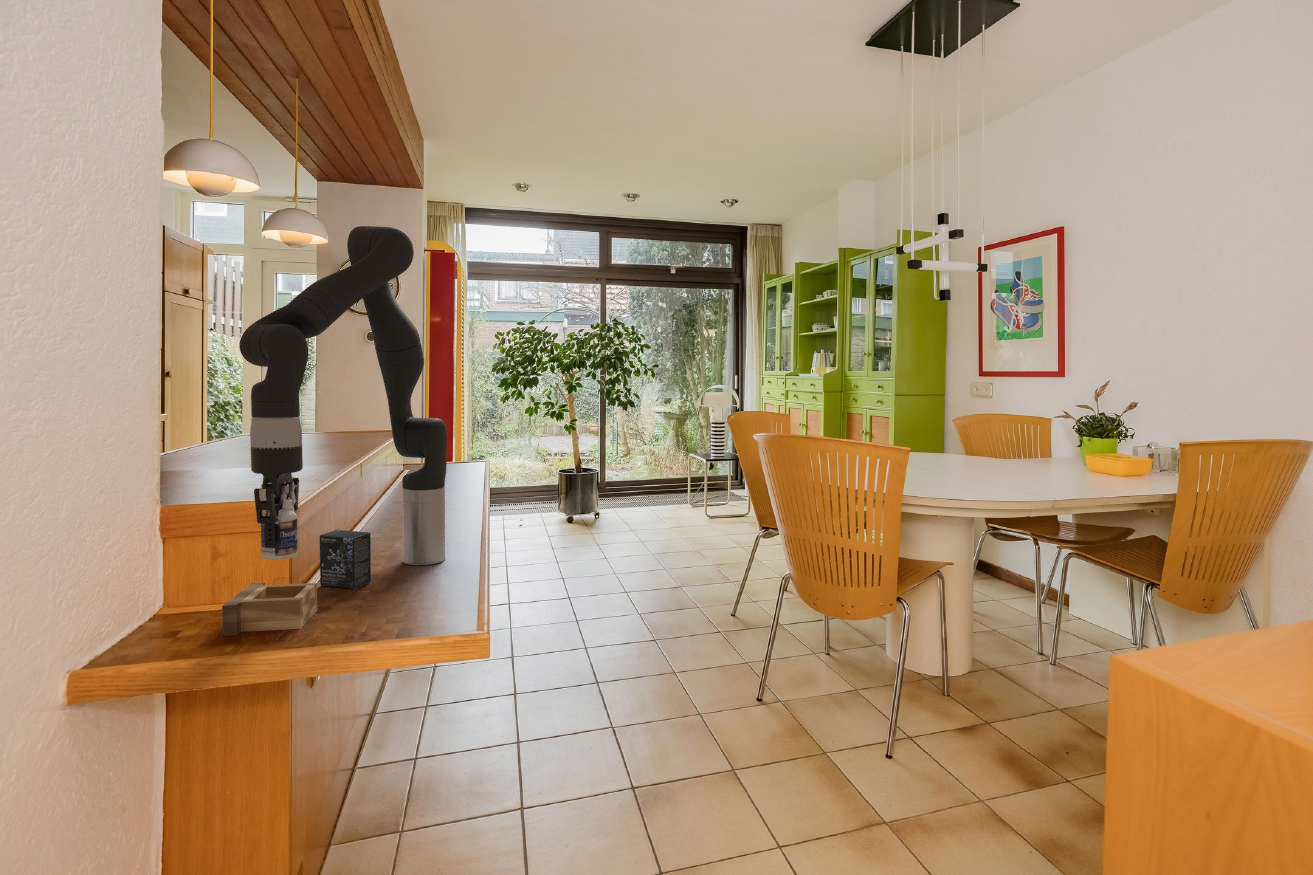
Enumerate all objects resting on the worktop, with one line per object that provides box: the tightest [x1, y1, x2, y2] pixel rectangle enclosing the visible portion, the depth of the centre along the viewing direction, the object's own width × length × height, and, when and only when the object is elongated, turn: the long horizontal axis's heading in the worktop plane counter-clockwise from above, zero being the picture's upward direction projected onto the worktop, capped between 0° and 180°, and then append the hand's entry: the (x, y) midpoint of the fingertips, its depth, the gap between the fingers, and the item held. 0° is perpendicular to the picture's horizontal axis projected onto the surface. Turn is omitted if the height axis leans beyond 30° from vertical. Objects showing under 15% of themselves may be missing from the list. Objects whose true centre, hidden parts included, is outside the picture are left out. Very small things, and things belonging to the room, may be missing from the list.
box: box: [319, 529, 372, 590], centre depth 131 cm, size 8×6×11 cm
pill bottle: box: [260, 499, 299, 561], centre depth 110 cm, size 5×5×10 cm
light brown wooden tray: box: [240, 582, 318, 633], centre depth 111 cm, size 9×9×5 cm
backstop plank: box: [221, 582, 266, 637], centre depth 110 cm, size 12×2×5 cm, turn 12°
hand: (279, 542), depth 110 cm, fingers closed on pill bottle, 5 cm apart
